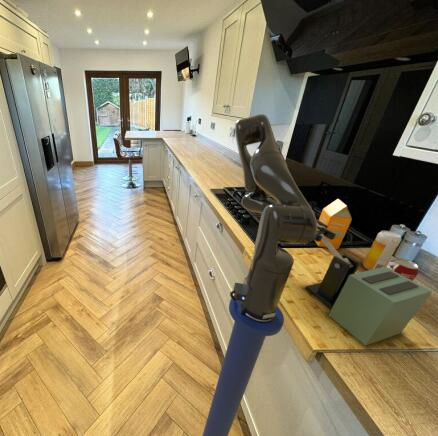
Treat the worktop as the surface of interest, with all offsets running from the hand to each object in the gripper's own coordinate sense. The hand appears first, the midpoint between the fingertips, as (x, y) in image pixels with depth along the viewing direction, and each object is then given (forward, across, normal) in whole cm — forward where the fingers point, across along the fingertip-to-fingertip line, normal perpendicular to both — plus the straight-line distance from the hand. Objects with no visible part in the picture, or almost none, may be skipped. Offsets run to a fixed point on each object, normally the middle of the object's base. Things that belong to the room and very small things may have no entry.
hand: (327, 238), depth 74 cm
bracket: (+7, 0, +18) cm, 19 cm away
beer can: (0, +32, +18) cm, 37 cm away
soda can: (+11, +22, +18) cm, 31 cm away
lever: (+2, 0, +4) cm, 4 cm away
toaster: (+18, 0, +18) cm, 25 cm away
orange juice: (-19, +31, +18) cm, 40 cm away
